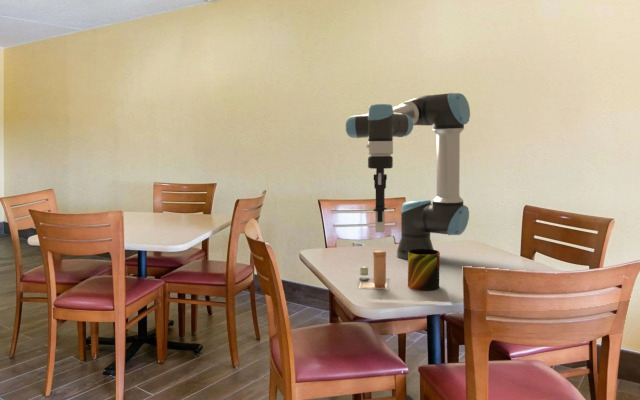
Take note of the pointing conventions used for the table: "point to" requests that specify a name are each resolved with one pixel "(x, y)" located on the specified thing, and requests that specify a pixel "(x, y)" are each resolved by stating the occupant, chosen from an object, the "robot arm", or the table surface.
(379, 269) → the orange tall block
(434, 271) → the mug
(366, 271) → the button
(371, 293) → the table surface
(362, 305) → the table surface
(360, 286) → the clipboard
